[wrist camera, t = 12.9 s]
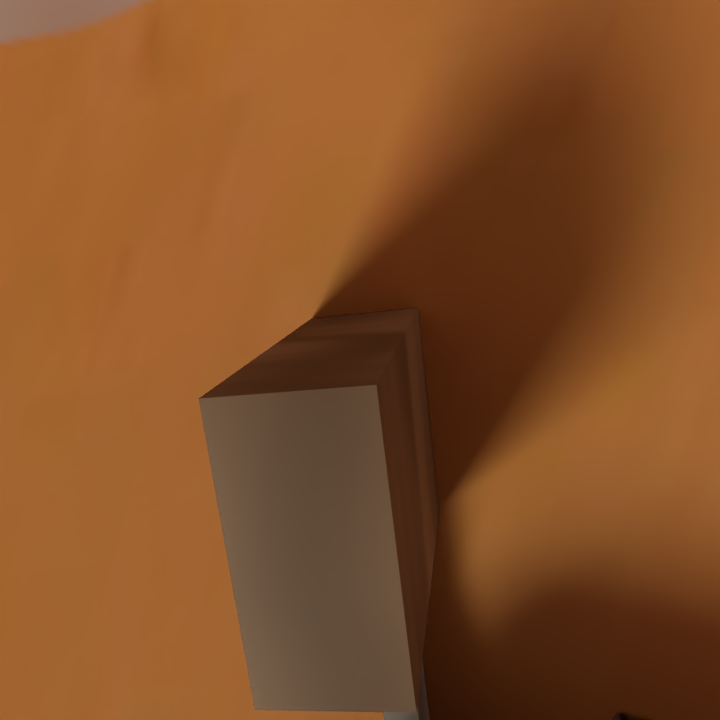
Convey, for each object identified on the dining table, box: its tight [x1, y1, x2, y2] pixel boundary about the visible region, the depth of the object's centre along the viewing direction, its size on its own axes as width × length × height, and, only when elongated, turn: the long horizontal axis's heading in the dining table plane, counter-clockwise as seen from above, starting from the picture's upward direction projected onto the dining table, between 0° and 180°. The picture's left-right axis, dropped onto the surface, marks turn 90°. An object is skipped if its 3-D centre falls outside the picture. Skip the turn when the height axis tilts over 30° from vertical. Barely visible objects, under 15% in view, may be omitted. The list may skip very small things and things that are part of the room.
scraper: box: [199, 308, 439, 720], centre depth 16 cm, size 3×18×8 cm, turn 7°
